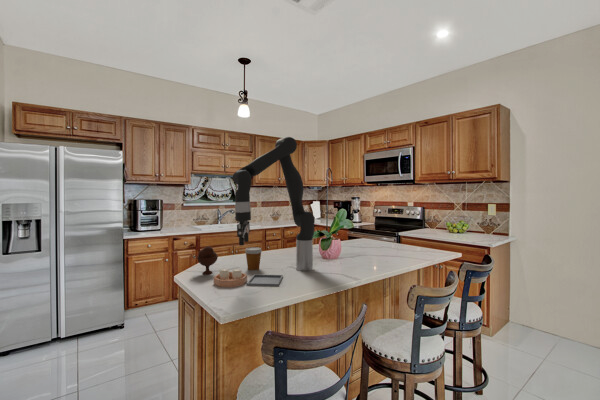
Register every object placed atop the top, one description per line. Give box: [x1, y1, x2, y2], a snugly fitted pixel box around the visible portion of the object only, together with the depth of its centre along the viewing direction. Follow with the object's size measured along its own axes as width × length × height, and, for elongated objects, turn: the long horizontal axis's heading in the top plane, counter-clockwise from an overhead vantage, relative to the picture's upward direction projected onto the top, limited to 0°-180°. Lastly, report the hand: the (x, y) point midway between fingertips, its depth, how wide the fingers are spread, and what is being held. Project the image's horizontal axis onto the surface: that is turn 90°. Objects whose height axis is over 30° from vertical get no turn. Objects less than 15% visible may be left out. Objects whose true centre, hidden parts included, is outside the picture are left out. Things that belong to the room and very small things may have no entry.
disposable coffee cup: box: [244, 246, 263, 271], centre depth 169 cm, size 10×10×12 cm
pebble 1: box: [219, 268, 230, 280], centre depth 144 cm, size 4×4×6 cm
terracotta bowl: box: [213, 271, 248, 288], centre depth 144 cm, size 15×15×4 cm
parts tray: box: [245, 273, 284, 287], centre depth 146 cm, size 15×15×2 cm
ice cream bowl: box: [196, 245, 219, 276], centre depth 161 cm, size 11×11×15 cm
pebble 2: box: [231, 269, 243, 280], centre depth 144 cm, size 4×4×6 cm
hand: (244, 243), depth 147 cm, fingers open, 8 cm apart
